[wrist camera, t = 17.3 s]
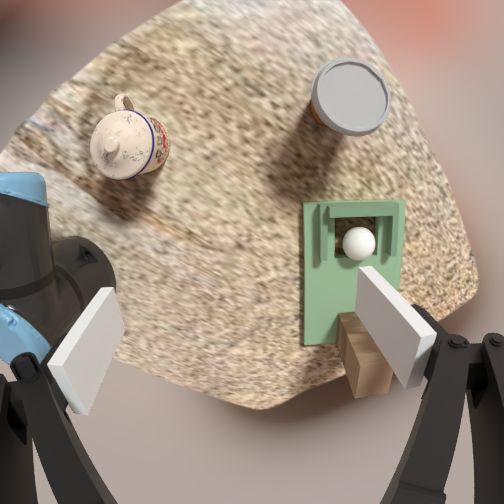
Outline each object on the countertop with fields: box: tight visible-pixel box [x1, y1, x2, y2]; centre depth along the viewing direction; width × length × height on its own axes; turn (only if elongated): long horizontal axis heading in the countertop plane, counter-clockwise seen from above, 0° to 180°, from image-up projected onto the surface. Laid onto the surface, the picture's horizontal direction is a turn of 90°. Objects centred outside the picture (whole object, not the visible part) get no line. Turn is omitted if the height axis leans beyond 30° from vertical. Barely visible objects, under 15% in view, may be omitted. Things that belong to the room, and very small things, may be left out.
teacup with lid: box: [90, 94, 170, 180], centre depth 37 cm, size 12×9×12 cm
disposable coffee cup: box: [310, 57, 391, 136], centre depth 35 cm, size 10×10×12 cm
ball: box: [342, 227, 375, 261], centre depth 44 cm, size 5×5×5 cm
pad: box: [303, 200, 405, 345], centre depth 46 cm, size 16×24×5 cm, turn 4°
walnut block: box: [336, 312, 393, 398], centre depth 43 cm, size 5×6×14 cm
